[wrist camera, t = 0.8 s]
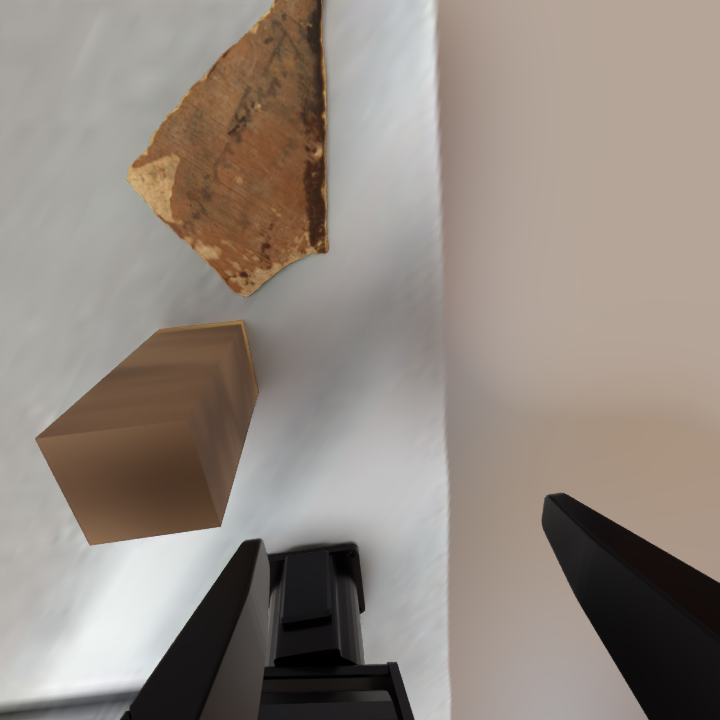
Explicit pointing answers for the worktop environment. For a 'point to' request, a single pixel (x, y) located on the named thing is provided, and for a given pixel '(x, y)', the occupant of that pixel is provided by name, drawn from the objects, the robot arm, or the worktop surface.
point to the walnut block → (157, 436)
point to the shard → (248, 152)
